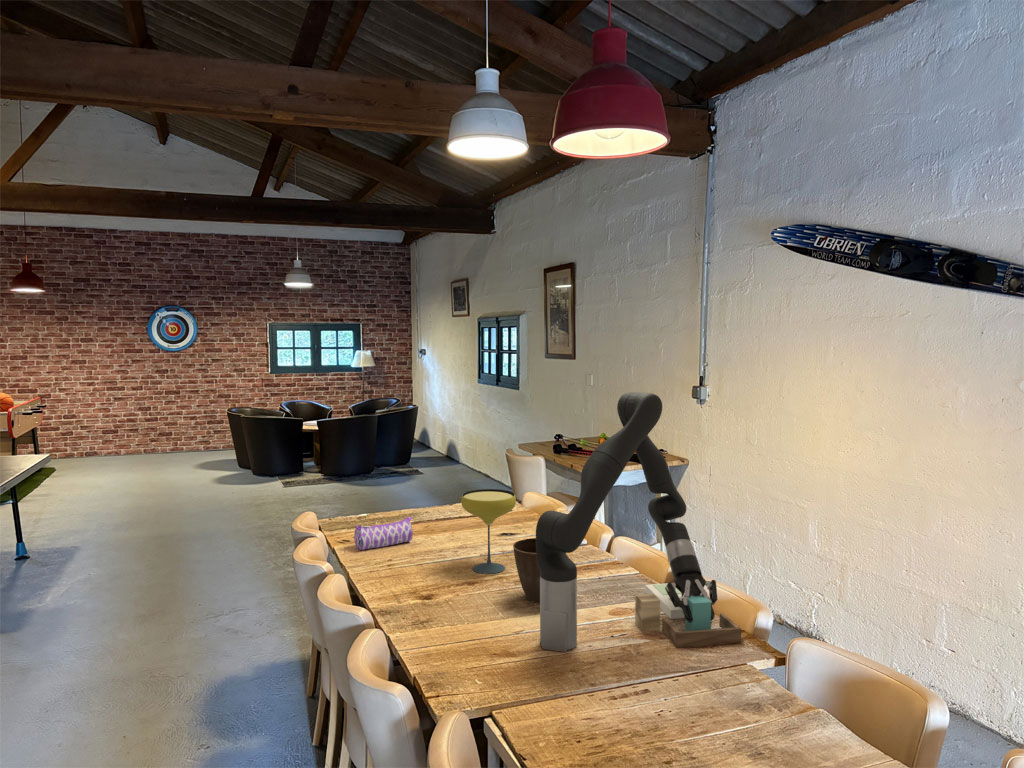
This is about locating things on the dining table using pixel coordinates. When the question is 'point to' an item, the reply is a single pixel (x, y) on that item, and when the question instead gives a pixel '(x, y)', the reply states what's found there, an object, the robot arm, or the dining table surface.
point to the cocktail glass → (488, 516)
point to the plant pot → (528, 568)
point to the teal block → (699, 614)
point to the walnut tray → (703, 634)
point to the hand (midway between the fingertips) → (701, 620)
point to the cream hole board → (665, 600)
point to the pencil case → (383, 534)
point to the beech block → (647, 612)
